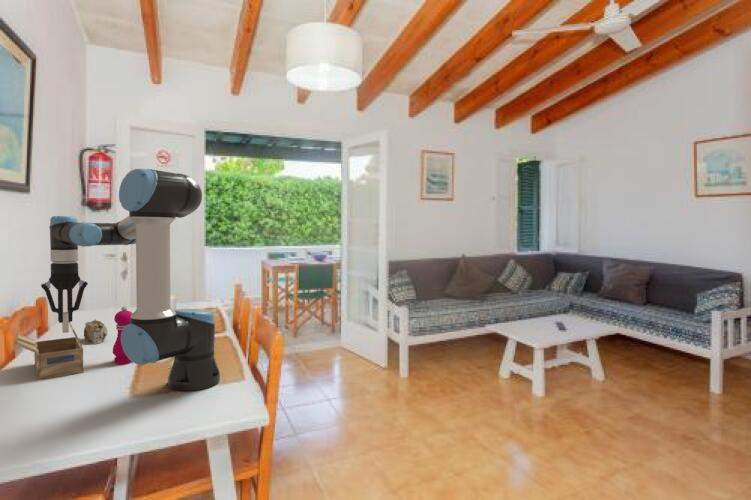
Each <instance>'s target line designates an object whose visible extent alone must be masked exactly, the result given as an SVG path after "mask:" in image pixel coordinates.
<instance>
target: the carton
mask: <svg viewBox="0 0 751 500" xmlns="http://www.w3.org/2000/svg"><path fill="white" fill-rule="evenodd" d="M35 344H36V349H37V353H35V352H34V369H35V374H36V380H37V381H39V380H40V379H41V380H46V379H51V378H57V377H58V378H59V377H64V376H69V375H76V374H81V373H84V347H83V345H82V346H80V344H79V343H78V341H77V339H76V337H75V336H72V337H65V338H64V337H63V338H56V339H48V340H40V341H35Z"/></svg>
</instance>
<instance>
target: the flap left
mask: <svg viewBox="0 0 751 500" xmlns="http://www.w3.org/2000/svg"><path fill="white" fill-rule="evenodd" d="M16 341H17V342H16V344H17V346H19V347H20V348H23V349H25V350H28V351H31V352H33V353H34V354H35V353H37V349H36V344H35V342H36V340H35V339H33V338H30V337H28V336H26V335H23V334H21V333H19V332H17V333H16Z"/></svg>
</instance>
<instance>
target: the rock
mask: <svg viewBox="0 0 751 500" xmlns="http://www.w3.org/2000/svg"><path fill="white" fill-rule="evenodd" d="M84 325H85V327H84V330H83V337H84V339H85V340H86V341H89V342H91V343H92V344H93V345H98V344H101V343H103V342H104V341H105V339H106V338H107V336H108V329H107V326H106V325H105V323H103V322H102V321H101V320H97V319H94V320H92V321H87V322H85V323H84Z"/></svg>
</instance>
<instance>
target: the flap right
mask: <svg viewBox="0 0 751 500" xmlns="http://www.w3.org/2000/svg"><path fill="white" fill-rule="evenodd" d="M71 323H72V322H69V327H70V329H71V332H73V335H74V337H76V339H77V341H78V343H79V344H80V346H82V347H83V345H82V344H81V343H82V342H81V341H80V339H79V337H78V335H77V333H76V331H75V328H74V327H73V325H72V324H71Z"/></svg>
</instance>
